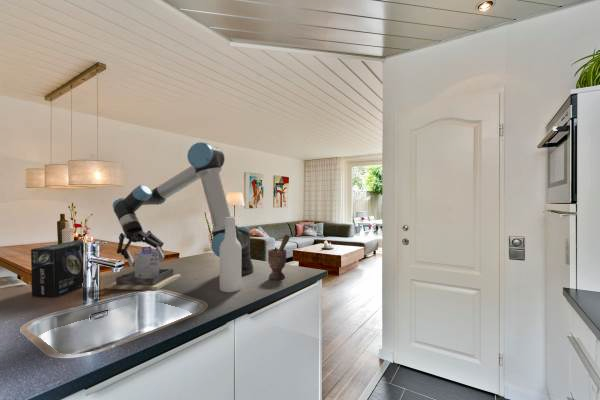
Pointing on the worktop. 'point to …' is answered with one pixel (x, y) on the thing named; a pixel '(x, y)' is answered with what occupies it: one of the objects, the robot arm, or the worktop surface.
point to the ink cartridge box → (146, 263)
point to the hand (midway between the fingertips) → (148, 261)
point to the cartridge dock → (144, 281)
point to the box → (57, 269)
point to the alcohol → (230, 259)
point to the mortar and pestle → (278, 260)
